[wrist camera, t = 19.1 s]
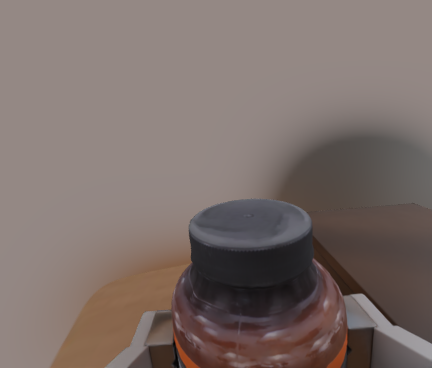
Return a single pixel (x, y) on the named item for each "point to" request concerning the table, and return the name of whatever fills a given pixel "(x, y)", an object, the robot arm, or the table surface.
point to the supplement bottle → (257, 292)
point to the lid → (383, 258)
